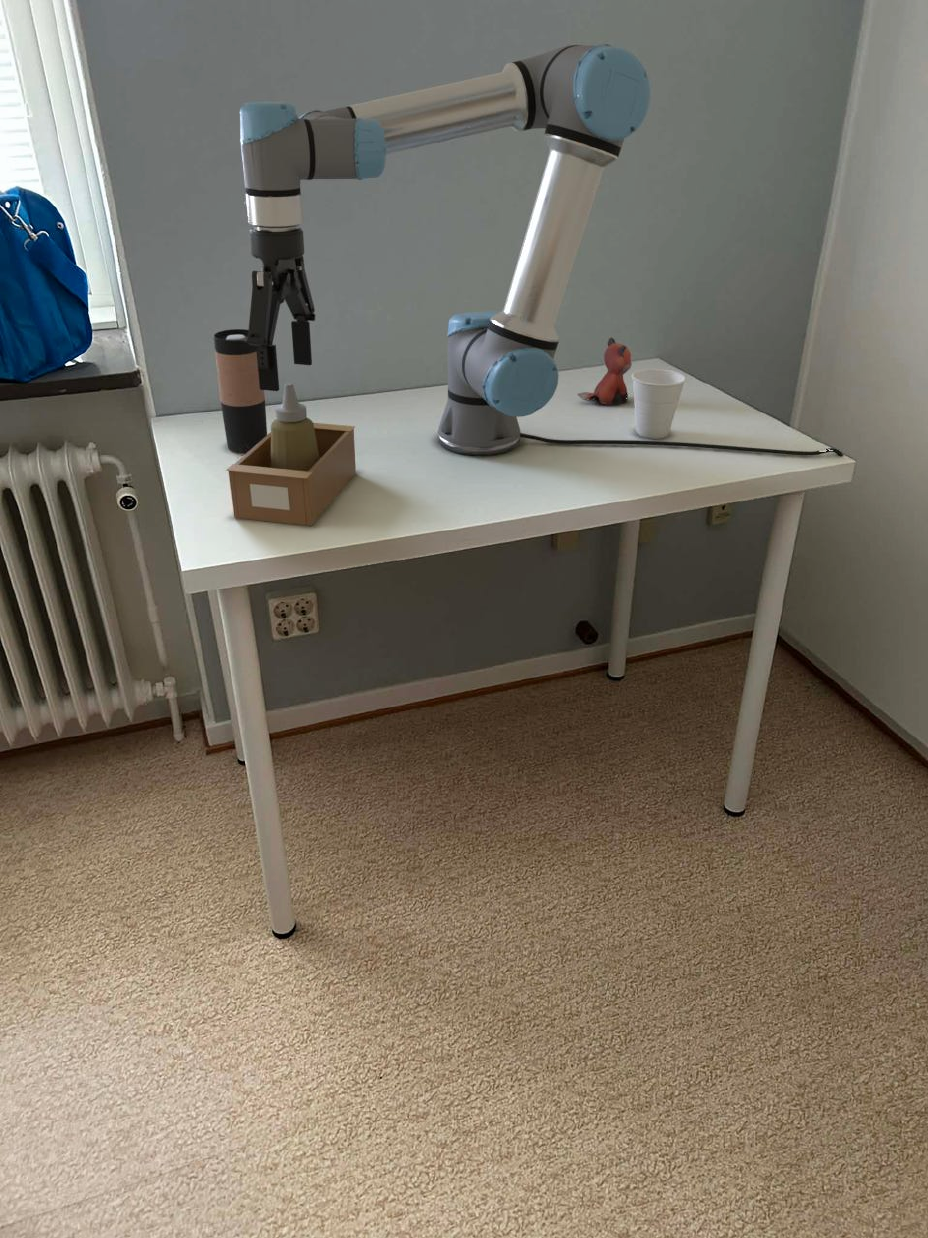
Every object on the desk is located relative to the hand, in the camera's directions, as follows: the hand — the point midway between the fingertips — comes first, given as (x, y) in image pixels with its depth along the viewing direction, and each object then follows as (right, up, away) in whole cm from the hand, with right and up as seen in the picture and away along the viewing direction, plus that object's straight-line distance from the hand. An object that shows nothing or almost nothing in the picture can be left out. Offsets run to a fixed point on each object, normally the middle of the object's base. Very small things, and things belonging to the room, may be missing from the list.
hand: (287, 376), depth 145 cm
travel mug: (-12, -6, +28) cm, 31 cm away
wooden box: (0, -17, +10) cm, 19 cm away
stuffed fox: (+55, +8, +53) cm, 77 cm away
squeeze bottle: (0, -17, +10) cm, 19 cm away
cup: (+62, -2, +36) cm, 72 cm away
